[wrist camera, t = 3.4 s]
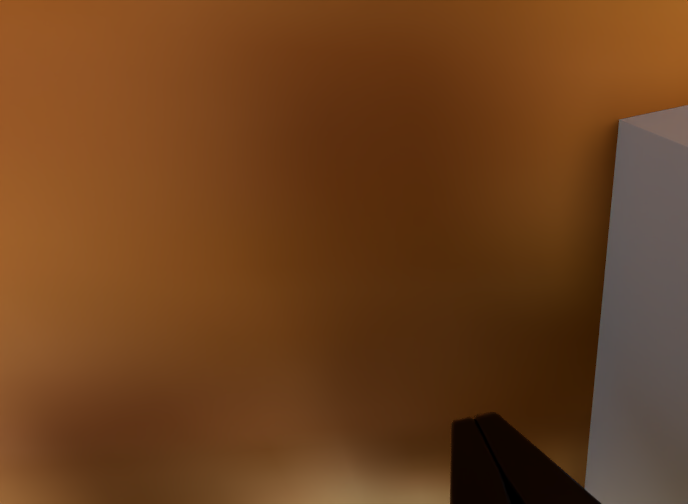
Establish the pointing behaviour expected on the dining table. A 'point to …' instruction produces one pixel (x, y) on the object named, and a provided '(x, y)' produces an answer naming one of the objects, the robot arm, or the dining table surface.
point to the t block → (644, 321)
